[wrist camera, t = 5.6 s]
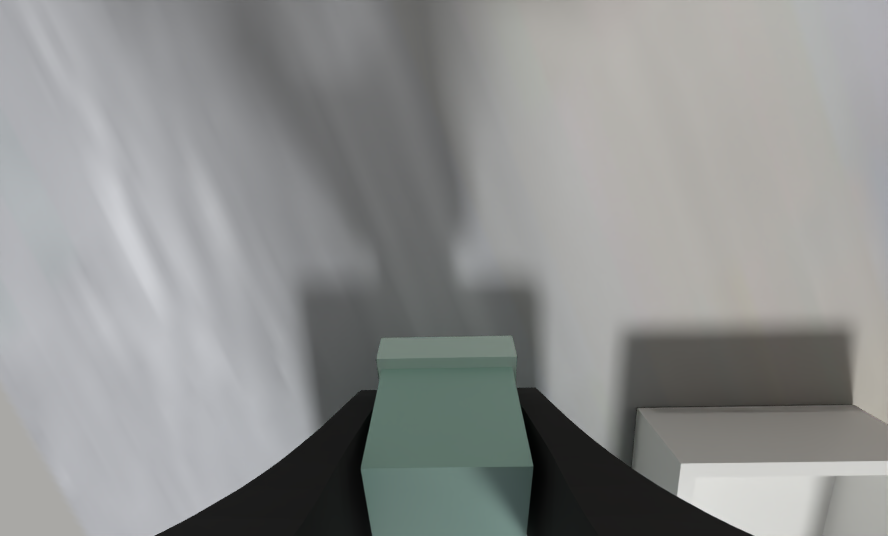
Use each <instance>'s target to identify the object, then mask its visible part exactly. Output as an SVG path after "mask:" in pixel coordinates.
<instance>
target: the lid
mask: <svg viewBox="0 0 888 536" xmlns="http://www.w3.org/2000/svg"><path fill="white" fill-rule="evenodd" d="M376 361H377V369H378V377H379V385H378V389H377V394H376V399H375V404H374V408H373V413H372V418H371V422H370V427H369V432H368V436H367V441H366V446H365V450H364V455H363V460H362V465H361V474H362V479H363V485H364V491H365V497H366V503H367V508H368V514H369V520H370V526H371V532H372V536H527V524H528V514H529V505H530V495H531V485H532V476H533V462H532V457H531V453H530V448H529V443H528V439H527V434H526V429H525V425H524V420H523V416H522V411H521V406H520V402H519V397H518V392H517V388H516V383H515V381H516V366H517V354H516V350H515V346H514V341H513V337H512V336H459V337H403V338H381V341H380V345H379V349H378V353H377V358H376Z"/></svg>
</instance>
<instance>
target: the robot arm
mask: <svg viewBox="0 0 888 536" xmlns="http://www.w3.org/2000/svg"><path fill="white" fill-rule="evenodd" d="M517 392H518V397H519V402H520V406H521V411H522V416H523V420H524V425H525V429H526V434H527V439H528V443H529V448H530V453H531V457H532V462H533V476H532V485H531V495H530V505H529V514H528V524H527V536H754V535H752V534H749V533H747V532H745V531H743V530H741V529H739V528H736V527H734V526H732V525H730V524H728V523H726V522H724V521H722V520H720V519H718V518H716V517H714V516H712V515H710V514H708V513H706V512H704V511H703V510H701V509H699V508H697V507H695V506H694V505H692V504H690V503H688V502H686V501H684V500H683V499H681V498H679V497H677V496H675V495H674V494H672V493H670V492H669V491H667V490H665V489H663V488H662V487H660V486H658V485H657V484H655V483H654V482H652V481H651V480H649V479H647V478H646V477H644V476H643V475H641V474H640V473H638V472H637V471H635V470H634V469H632V468H631V467H629V466H628V465H626V464H625V463H623V462H622V461H621V460H619V459H618V458H616V457H615V456H614V455H612V454H611V453H610V452H608V451H607V450H606V449H605V448H603V447H602V446H601V445H599V444H598V443H597V442H595V441H594V440H593V439H592V438H591V437H589V436H588V435H587V434H586V433H584V432H583V431H582V430H581V429H580V428H579V427H577V426H576V425H575V424H574V423H573V422H572V421H571V420H570V419H568V418H567V417H566V416H565V415H564V414H563V413H562V412H561V411H560V410H559V409H558V408H557V407H555V406H554V405H553V404H552V403H551V402H550V401H549V400H548V399H547V398H546V397H545V396H544V395H543V394H542V393H541V392H540V391H539V390H538V389H536V388H517ZM376 394H377V390H361V391H360V392H358V393H357V394H356V395H355V396H354V397H353V398H352V399H351V400H350V401H349V402H348V403H347V404H346V405H345V406H344V407H342V408H341V409H340V410H339V411H338V412H337V413H336V414H335V415H334V416H333V417H332V418H331V419H330V420H329V421H327V422H326V423H325V424H324V425H323V426H322V427H321V428H320V429H319V430H318V431H316V432H315V433H314V434H313V435H312V436H310V437H309V438H308V439H307V440H305V441H304V442H303V443H302V444H301V445H299V446H298V447H297V448H296V449H295V450H293V451H292V452H291V453H290V454H288V455H287V456H286V457H285V458H283V459H282V460H281V461H279V462H278V463H277V464H275V465H274V466H273V467H271V468H270V469H268V470H267V471H265V472H264V473H263V474H261V475H260V476H258V477H257V478H255V479H254V480H252V481H251V482H249V483H248V484H246V485H245V486H243V487H242V488H240V489H238V490H237V491H235V492H233V493H232V494H230V495H228V496H227V497H225V498H223V499H221V500H220V501H218V502H216V503H215V504H213V505H211V506H209V507H208V508H206V509H204V510H203V511H201V512H199V513H197V514H196V515H194V516H192V517H190V518H188V519H187V520H185V521H183V522H181V523H179V524H177V525H175V526H173V527H171V528H169V529H167V530H165V531H163V532H161V533H159V534H157V535H155V536H372V532H371V526H370V520H369V514H368V508H367V503H366V497H365V491H364V485H363V479H362V474H361V465H362V460H363V455H364V450H365V446H366V441H367V436H368V432H369V427H370V422H371V418H372V413H373V408H374V404H375V399H376Z"/></svg>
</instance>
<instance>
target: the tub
mask: <svg viewBox="0 0 888 536" xmlns="http://www.w3.org/2000/svg"><path fill="white" fill-rule="evenodd" d="M632 469H634V470H635V471H637V472H638V473H640V474H641V475H643V476H644V477H646V478H647V479H649V480H651V481H652V482H654V483H655V484H657V485H658V486H660V487H662V488H663V489H665V490H667V491H669V492H670V493H672V494H674V495H675V496H677V497H679V498H681V499H683V500H684V501H686V502H688V503H690V504H692V505H694V506H695V507H697V508H699V509H701V510H703V511H704V512H706V513H708V514H710V515H712V516H714V517H716V518H718V519H720V520H722V521H724V522H726V523H728V524H730V525H732V526H734V527H736V528H739V529H741V530H743V531H745V532H747V533H749V534H752V535H754V536H888V424H886V423H885V422H883V421H881V420H879V419H878V418H876V417H874V416H872V415H871V414H869V413H867V412H866V411H864V410H862V409H860V408H859V407H857V406H855V405H810V406H742V407H674V408H637V415H636V426H635V437H634V447H633V458H632Z"/></svg>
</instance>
